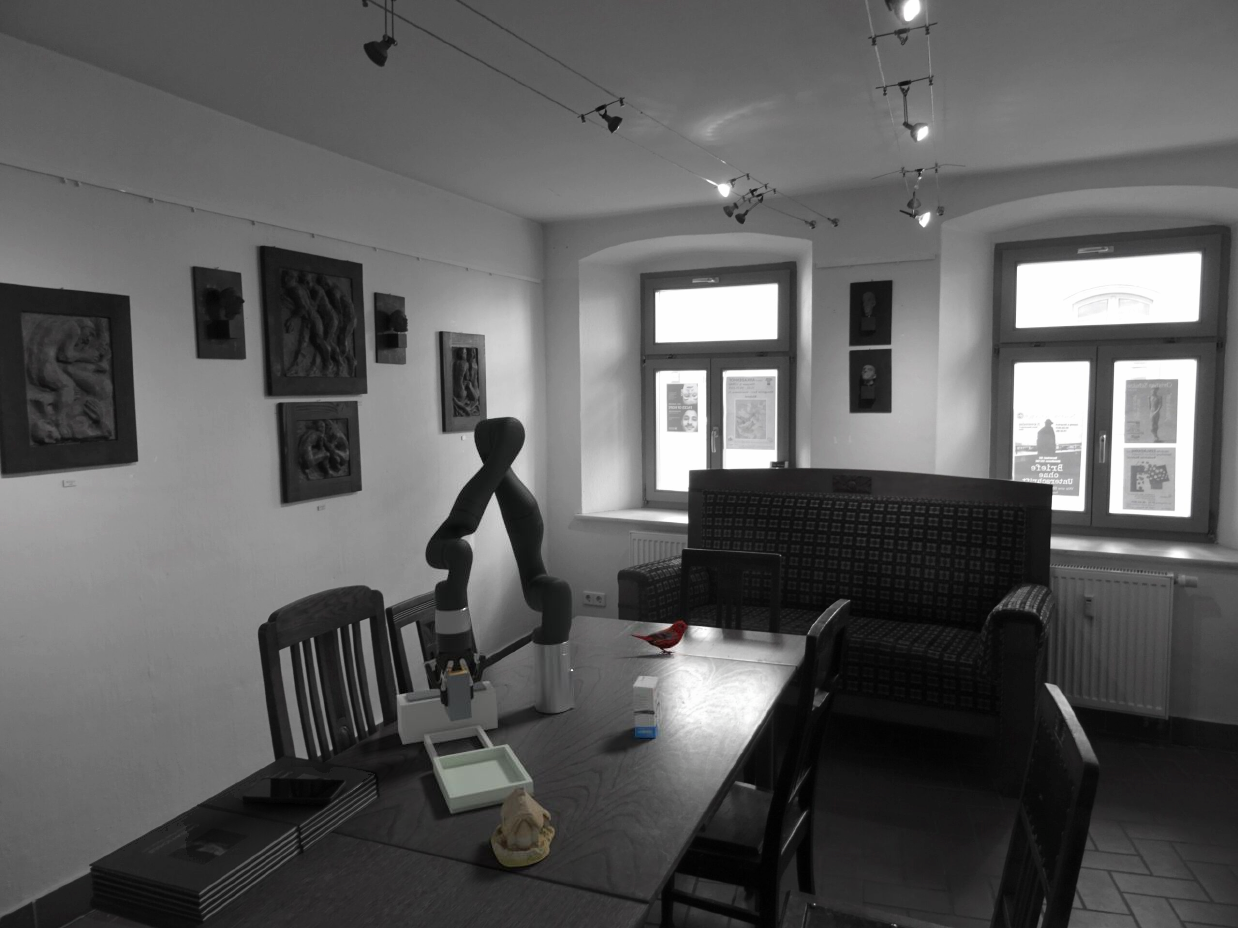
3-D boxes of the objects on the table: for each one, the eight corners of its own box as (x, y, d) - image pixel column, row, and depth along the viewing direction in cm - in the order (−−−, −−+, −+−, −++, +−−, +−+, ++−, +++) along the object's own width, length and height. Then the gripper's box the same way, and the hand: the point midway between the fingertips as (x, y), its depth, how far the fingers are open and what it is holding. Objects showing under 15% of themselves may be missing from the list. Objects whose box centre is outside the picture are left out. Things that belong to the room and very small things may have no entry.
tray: (508, 757, 179) (507, 744, 179) (533, 796, 160) (533, 781, 160) (433, 771, 173) (432, 757, 173) (451, 813, 154) (450, 797, 154)
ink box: (655, 738, 186) (653, 687, 186) (633, 737, 187) (632, 687, 187) (661, 724, 195) (659, 675, 194) (640, 723, 196) (638, 674, 195)
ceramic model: (490, 829, 148) (487, 775, 148) (552, 821, 150) (550, 768, 150) (492, 871, 135) (489, 811, 134) (560, 862, 137) (558, 803, 136)
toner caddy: (464, 706, 188) (462, 662, 187) (471, 717, 181) (469, 672, 180) (444, 709, 186) (442, 665, 186) (451, 721, 179) (448, 675, 178)
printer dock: (490, 716, 204) (488, 678, 203) (515, 753, 181) (513, 710, 180) (398, 732, 196) (396, 692, 195) (413, 772, 173) (410, 727, 172)
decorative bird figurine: (689, 654, 250) (688, 621, 249) (631, 656, 250) (630, 623, 250) (689, 651, 253) (688, 619, 252) (631, 653, 253) (630, 621, 252)
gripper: (481, 619, 188) (485, 692, 189) (417, 628, 183) (421, 703, 184) (488, 627, 181) (492, 703, 183) (422, 636, 176) (427, 714, 177)
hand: (457, 702), depth 183 cm, fingers closed on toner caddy, 4 cm apart
